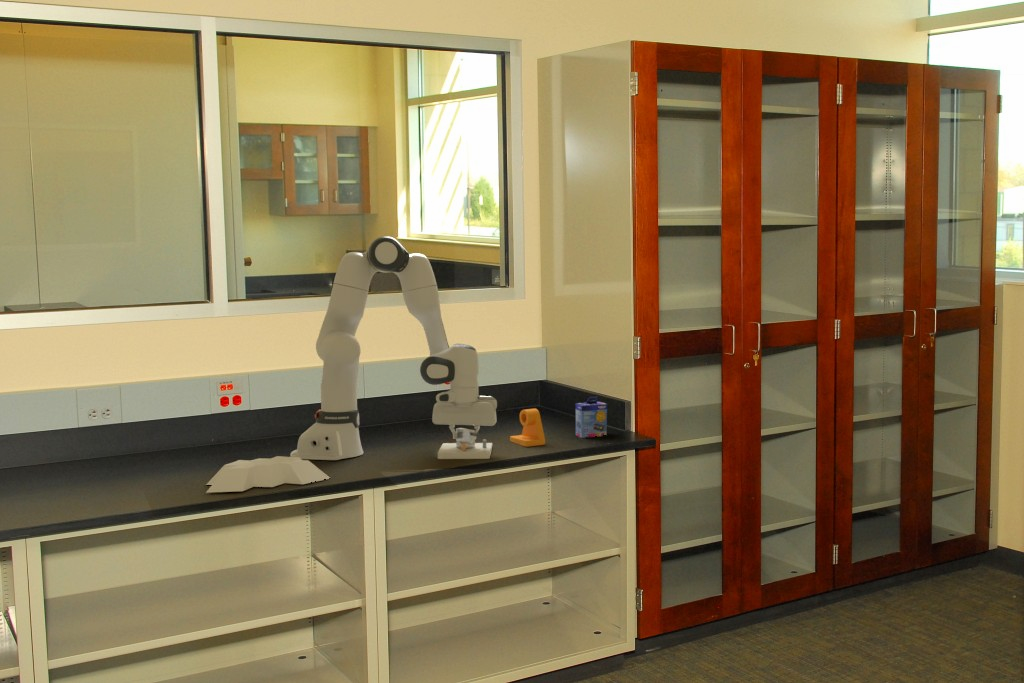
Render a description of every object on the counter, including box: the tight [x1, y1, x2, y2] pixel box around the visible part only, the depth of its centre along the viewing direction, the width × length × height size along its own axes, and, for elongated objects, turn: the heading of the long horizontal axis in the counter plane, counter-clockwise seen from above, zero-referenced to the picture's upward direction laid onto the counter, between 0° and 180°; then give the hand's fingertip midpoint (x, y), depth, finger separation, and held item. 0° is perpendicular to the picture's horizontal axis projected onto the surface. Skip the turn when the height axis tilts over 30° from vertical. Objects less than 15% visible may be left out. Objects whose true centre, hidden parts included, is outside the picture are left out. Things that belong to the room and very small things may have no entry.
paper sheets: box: [205, 455, 331, 494], centre depth 291 cm, size 35×20×6 cm, turn 117°
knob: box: [455, 427, 480, 448], centre depth 323 cm, size 10×6×6 cm, turn 41°
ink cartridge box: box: [575, 396, 608, 439], centre depth 348 cm, size 10×6×14 cm, turn 113°
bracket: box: [509, 408, 546, 447], centre depth 337 cm, size 11×7×12 cm, turn 32°
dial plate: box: [437, 438, 493, 460], centre depth 324 cm, size 16×16×4 cm
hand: (464, 438), depth 324 cm, fingers closed on knob, 4 cm apart
